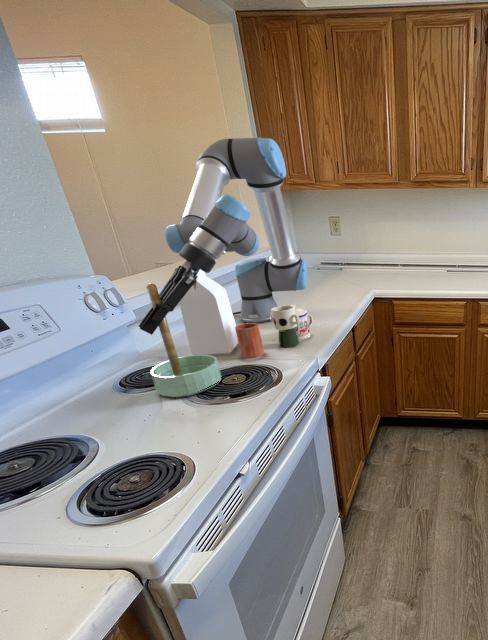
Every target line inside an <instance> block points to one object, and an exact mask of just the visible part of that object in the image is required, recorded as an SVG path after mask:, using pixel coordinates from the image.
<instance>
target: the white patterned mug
mask: <svg viewBox="0 0 488 640" xmlns="http://www.w3.org/2000/svg"><path fill="white" fill-rule="evenodd" d="M290 306H294V308H295V313H296V315H298V317H299V325H297V326H296V327H294V329H295V331H296V334H297V337H298V340H299V341H300V340H303V339H307V338H310V337H311V331H310V328H311V327H312V325H313V322H314V318H313V315H312V314H311V313H308V312H307V311H308V310H306V309H304V308H300V307H297V306H296V305H295V304H290ZM308 318H309V319H308Z"/></svg>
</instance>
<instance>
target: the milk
mask: <svg viewBox="0 0 488 640" xmlns="http://www.w3.org/2000/svg"><path fill="white" fill-rule="evenodd" d="M196 276H198V277H197V279H196V280H197V282H196V283H195V284H194V285H193V286H192V287H191V288H190V289H189V290H188V292H187V293H186V294H185V295H184V297H183V298H182V299H181V301H180V302H179V303H178V305H179V308H180V311H181V316H182V320H183V324H184V329H185V333H186V336H187V342H188V345H189V350H190V354H191V355H219V354H228V353H232V352H233V350H234V349H235V347H237V346H238V345H239V343H238V338H237V334H236V330H235V327H236V326H237V323H236V320H235V316H234V315H233V313H234V312H233V310H232V306H231V303H230V299H229V296H228V292H227V290H226V289H225V287H223V286H222V285H221V284H219V283H218V282H216V281H215V280H214V279H212V278H210V277H208V276H207V275H206V272H204V271H202V270H201V269H200V270H199V272H198V273H197V275H196Z"/></svg>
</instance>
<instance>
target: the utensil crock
mask: <svg viewBox="0 0 488 640" xmlns="http://www.w3.org/2000/svg"><path fill="white" fill-rule="evenodd" d="M235 330H236V334H237V338H238V347H239V351H240V355H241V358H243V359H256V358H259V357H262V356H263V355H264V354H265V351H264V346H263V341H262V336H261V331H260V327H259V324H258V323H246V322H244V323H241V324H240V323H239V324H238V325H236V327H235Z"/></svg>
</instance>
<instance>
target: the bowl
mask: <svg viewBox="0 0 488 640" xmlns="http://www.w3.org/2000/svg"><path fill="white" fill-rule="evenodd" d="M178 359H179V363H180V366H181V369H182V375H179V376H175V375H174V374H173V370H172V367H171V364H170V361H169V359H168V360H166V361H163V362H161V363H159V364H157V365H155V366H154V367H152V368H151V370H150V376H151V379H152V383H153V385H154V388H155V391H156V393H157V394H158V395H160V396H163V397H167V398H183V397H190V396H195V395H198V394H201V393H204V392H206V391H208V389H210V388H213V387H214V386H216V385H218V384H219V383H220V382H221V381H222V378H223V376H222V372H221V368H220V365H219V360H218V358H217V357H216V356H214V355H212V354H207V355H192V354H191V355H185V356H178ZM221 377H222V378H221ZM218 381H219V382H218ZM217 382H218V383H217ZM215 383H217V384H215ZM213 384H215V385H213ZM211 385H213V386H211ZM209 386H211V387H209ZM207 387H209V388H207ZM205 388H207V389H205ZM202 389H205V390H202ZM200 390H202V391H200ZM198 391H199V392H198Z"/></svg>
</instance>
